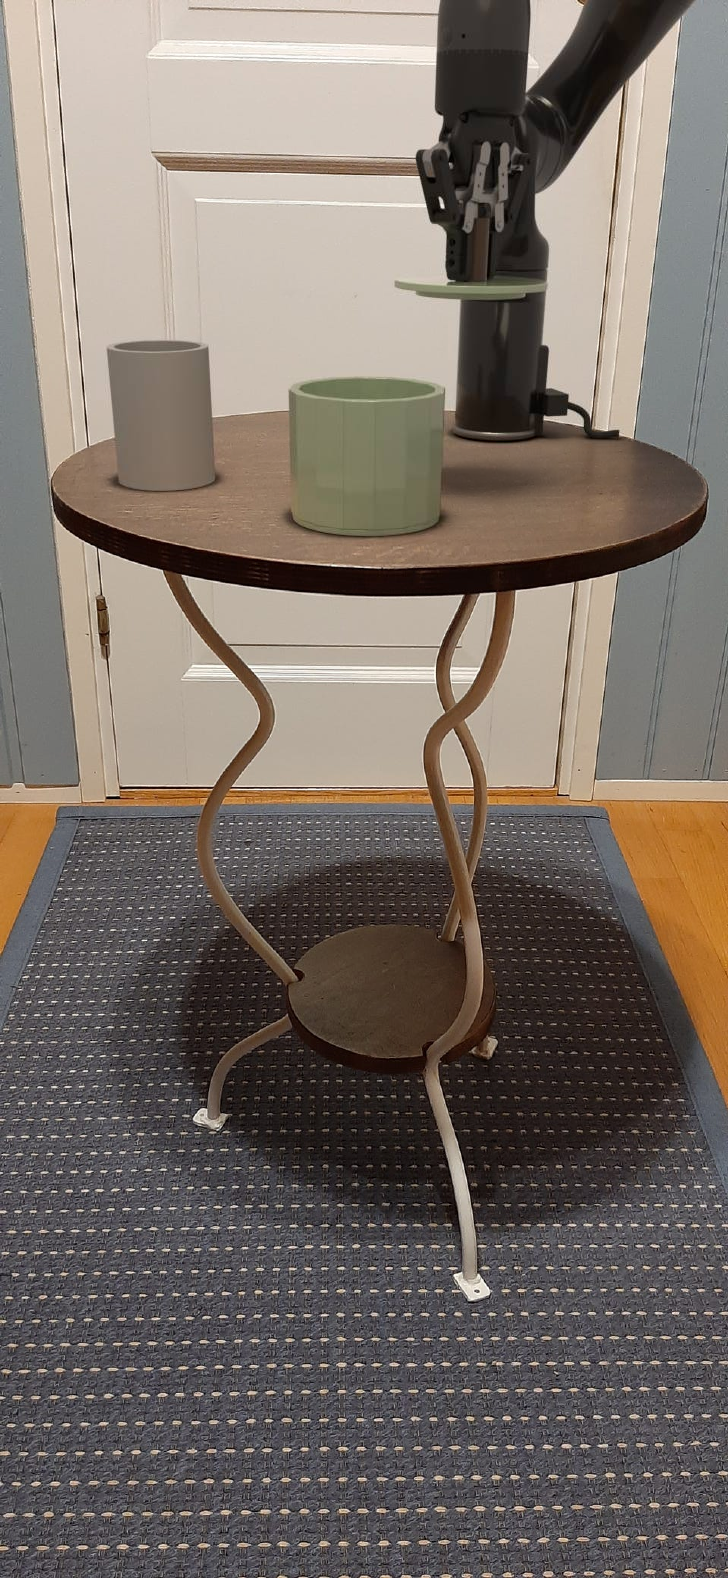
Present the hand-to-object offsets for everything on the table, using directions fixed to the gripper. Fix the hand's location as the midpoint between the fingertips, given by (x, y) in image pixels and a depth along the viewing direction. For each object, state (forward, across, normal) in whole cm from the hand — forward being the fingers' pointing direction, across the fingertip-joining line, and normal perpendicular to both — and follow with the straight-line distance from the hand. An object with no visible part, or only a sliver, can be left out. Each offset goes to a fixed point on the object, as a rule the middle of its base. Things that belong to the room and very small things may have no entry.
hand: (470, 278), depth 102 cm
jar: (+18, -16, -3) cm, 24 cm away
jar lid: (+1, 0, 0) cm, 1 cm away
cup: (+18, -20, +20) cm, 33 cm away
